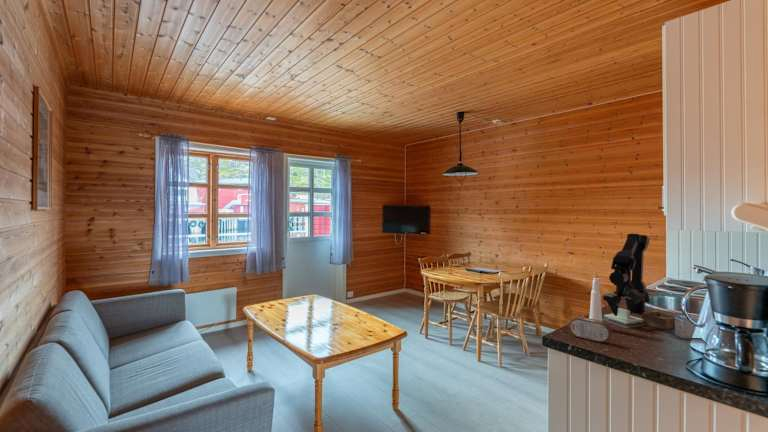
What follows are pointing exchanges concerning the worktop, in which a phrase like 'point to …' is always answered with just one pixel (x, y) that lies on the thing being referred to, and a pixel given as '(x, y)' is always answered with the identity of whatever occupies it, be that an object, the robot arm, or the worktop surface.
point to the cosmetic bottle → (595, 301)
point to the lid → (623, 317)
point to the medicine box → (684, 326)
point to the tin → (590, 329)
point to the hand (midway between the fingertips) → (623, 314)
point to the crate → (659, 319)
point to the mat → (623, 324)
